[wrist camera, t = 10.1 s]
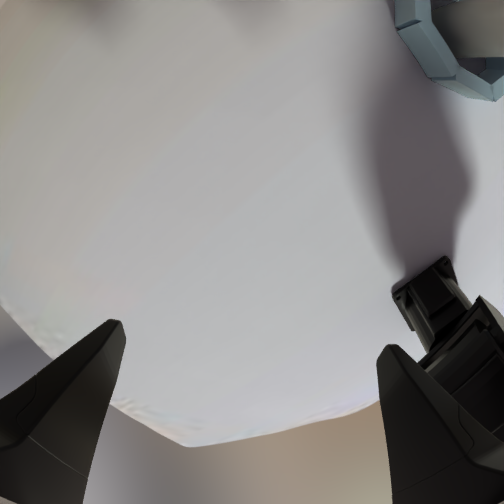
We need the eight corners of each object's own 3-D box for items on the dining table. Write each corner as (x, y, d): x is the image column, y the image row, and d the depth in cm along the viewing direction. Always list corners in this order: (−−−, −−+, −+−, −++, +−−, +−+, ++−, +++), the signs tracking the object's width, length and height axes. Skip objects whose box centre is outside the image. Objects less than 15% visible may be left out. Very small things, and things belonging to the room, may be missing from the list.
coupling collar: (508, 69, 11) (530, 71, 8) (448, 115, 14) (472, 120, 12) (444, -33, 7) (463, -41, 4) (366, -4, 11) (383, -18, 8)
